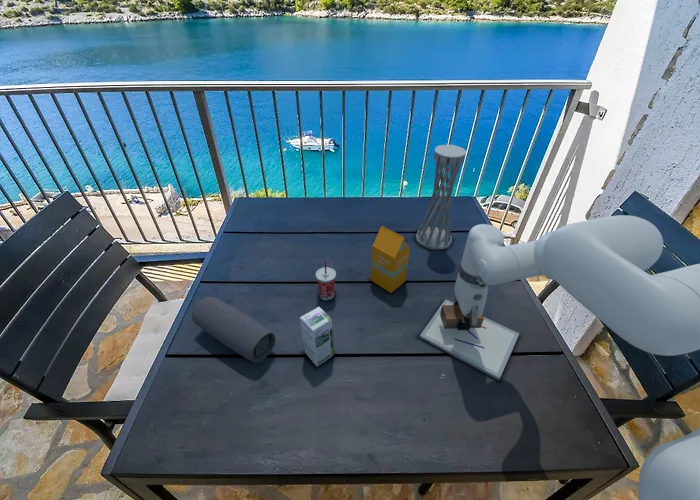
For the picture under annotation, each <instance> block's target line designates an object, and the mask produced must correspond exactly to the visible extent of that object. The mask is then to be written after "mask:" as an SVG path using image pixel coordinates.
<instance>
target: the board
mask: <svg viewBox="0 0 700 500" xmlns="http://www.w3.org/2000/svg"><path fill="white" fill-rule="evenodd" d="M442 305H454V302H453V301H451V300H448V299H444V301H443V302H442V304H441V305H440V306H439V308H438V309H437V311H436V312H435V314H434V315H433V316H432V317H431V319H430V320H429V322H428V323H427V325H425V327H424V329H423V330H422V331H421V333H420V335H419V339H421V340H422V341H424V342H426V343H429V344H430V345H432V346H434V347H436V348H438V349H439V350H442V351H443V352H446V353H447V354H449V355H451V356H453V357H455V358H456V359H458V360H460V361H462V362H464V363H466V364H468V365H469V366H471V367H473V368H475V369H477V370H479V371H481V372H482V373H484V374H486V375H488V376H490V377H491V378H494V379H495V380H497V381H500V380H501V378H502V375H503V373H504V370H505V368H506V366H507V364H508V362H509V359H510V356H511V355H512V352H513V350H514V347H515V345H516V343H517V341H518V339H519V336H520V333H519V332H517V331H515V330H513V329H511V328H508V327H506V326H504V325H502V324H500V323H498V322H495V321H493V320H491V319H489V318H487V317H485V316H483V317H484V320H483V323H482V326H481V328H470V329H469V330H458V329H444V327H443V323H442V320H441V317H440V313H441V308H442Z"/></svg>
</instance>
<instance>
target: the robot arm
mask: <svg viewBox="0 0 700 500" xmlns="http://www.w3.org/2000/svg"><path fill="white" fill-rule="evenodd" d="M661 233H662V232H661V231H660V230H659V229H658V227H656V225H655V224H653V223H652V222H650V221H649V220H647V219H645V218H642V217H639V216H635V215H624V214H623V215H622V214H621V215H609V216H605V217H601V218H595V219H589V220H583V221H578V222H573V223H568V224H565V225H562V226H560V227H558V228H557V229H555V230H552V231H548V232H546V233H544V234H542V235H541V236H540V237H539V238H538V239H536V240H531V241H526V242H520V243H514V244H509V245H504V246H503V244H504V240H505V236H504V235H505V234H504V233H503V232H502V230H501V229H499V228H498V227H497V226H495V225H492V224H488V223H481V224H480V223H479V224H476V225H474V226H473V227H472V228H471V229H470V230H469V232H468V235H467V238H466V242H465V243H466V244H465V247H464V250H463V255H462V257H461V261H460V264H459V268H458V273H457V276H456V280H455V282H454V288H453V290H454V291H453V292H454V296H455V297H454V298H453V301H454V302H453V303H454V305H459V306H460V309H461V312H462V319H460V321H459V324H458V327H457V329H458V330H469V329H470V327H471V325H477V315H478V316H481V315H482V314H483V313H484V309H485V306H486V303H487V298H488V294H489V293H488V292H489V286H497V285H498V286H499V285H502V284H507V283H511V282H516V281H520V280H525V279H530V278H535V277H541V276H544V277H546V278H547V279H550V280H552V281H555V282H556V283H557V284H558V285H559V286H560V287H561V288H562V289H563V290H564V291H565V292H566V293H568V294H569V295H570V296H571V297H572V298H573V299H575V300H576V302H579V304H581V305H582V307H584V308H585V309H586V310H587V311H589V312H590V313H591V314H592V315H594V316H595V317H596V318H597V319H598V320H599V321H600V322H601V323H603V324H604V325H605V326H607V327H608V328H609V329H610V330H611V331H612V332H613V333H615V335H617V336H618V337H620V338H621V339H622V340H624V341H626V342H627V343H628V344H630V345H631V346H633V347H635V348H637V349H639V350H641V351H642V352H643V351H644V352H646V353H649V354H653V355H657V356H665V357H666V356H667V357H670V356H679V355H685V354H690V353H693V352H695V351H699V350H700V263H696V264H691V265H686V266H683V267H679V268H676V269H672V270H667V271H664V272H659V273H655V274H650V273H649V272H646V270H648V269H649V268H651V267H652V266H653V265H654V264H656V262H657V261H658V260H659V258H660V257H661V256H662V252H663V250H664V238H663V236H662V234H661ZM466 315H470V317H466ZM638 475H639V477H638V488H637V489H638V491H637V500H700V426H699V427H698V428H696V429H695V430H693V431H692V432H690V433H689V434H686V435H683V436H681V437H679V438H676V439H673V440H671V441H668V442H665V443H663V444H661V445H659V446H658V447H655V448H654V449H653V450H652V451H651V452H649V454H648V455H647V456H646V457H645V459H644V461H643V462H642V465H641V467H640V470H639V474H638Z"/></svg>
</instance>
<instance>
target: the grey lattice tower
mask: <svg viewBox="0 0 700 500" xmlns="http://www.w3.org/2000/svg"><path fill="white" fill-rule="evenodd" d="M466 154H467V151H466V150H465V148H463V147H462V146H458V145H455V144H440V145H437V146H436V147H435V148H434V153H433V160H434V162H435V170H434V179H433V190H432V195H431V198H430V201H429V204H428V207H427V210H426V213H425V217H424V219H423V221H422V223H421V225H420V227H419V229H418V230H417V232H416V234H415V241H416V242H417V243H418V245H420V246H422V247H423V248H426V249H429V250H445V249H447V248H449V247H451V245H452V242H453V237H452V234H451V206H452V194H453V191H454V186H455V184H456V180H457V176H458V173H459V171H460V170H461V166H462V164H463V163H465V158H466ZM444 169H445V170H444ZM444 171H445V174H444ZM436 201H437V202H436ZM441 203H442V204H441ZM442 212H443V215H442ZM436 213H437V216H436V218H434V217H435V215H436ZM434 219H435V220H434ZM437 225H438V227H437ZM444 226H445V228H444Z"/></svg>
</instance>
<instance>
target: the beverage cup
mask: <svg viewBox="0 0 700 500" xmlns="http://www.w3.org/2000/svg"><path fill="white" fill-rule="evenodd" d="M323 262H324V263H323V265H324V267H321V268H318V269H317V270H316V272H315V278H316V281H317V288H318V294H319V298H320V299H321V300H323V301H330V300H332V299H333V298H334V297H335V289H336V278H337V272H336V270H335V269H334V268H332V267H329V266H327V260H324V261H323Z"/></svg>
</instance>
